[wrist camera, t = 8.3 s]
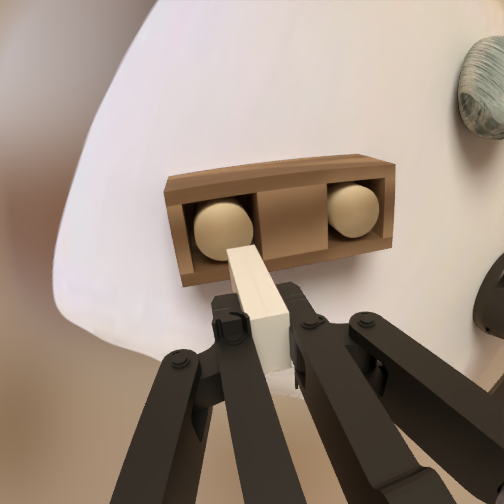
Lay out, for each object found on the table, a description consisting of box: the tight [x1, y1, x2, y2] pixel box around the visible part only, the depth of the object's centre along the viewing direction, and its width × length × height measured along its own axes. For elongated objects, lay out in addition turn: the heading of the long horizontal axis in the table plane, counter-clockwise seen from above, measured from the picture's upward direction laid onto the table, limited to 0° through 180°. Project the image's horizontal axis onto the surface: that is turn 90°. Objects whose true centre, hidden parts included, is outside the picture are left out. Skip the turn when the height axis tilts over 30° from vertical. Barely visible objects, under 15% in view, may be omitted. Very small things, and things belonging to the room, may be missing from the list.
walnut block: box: [164, 154, 395, 287], centre depth 25 cm, size 7×17×6 cm, turn 96°
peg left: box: [193, 196, 253, 261], centre depth 24 cm, size 4×4×5 cm
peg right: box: [327, 181, 379, 238], centre depth 25 cm, size 4×4×5 cm
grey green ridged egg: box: [458, 36, 504, 140], centre depth 23 cm, size 14×10×10 cm
